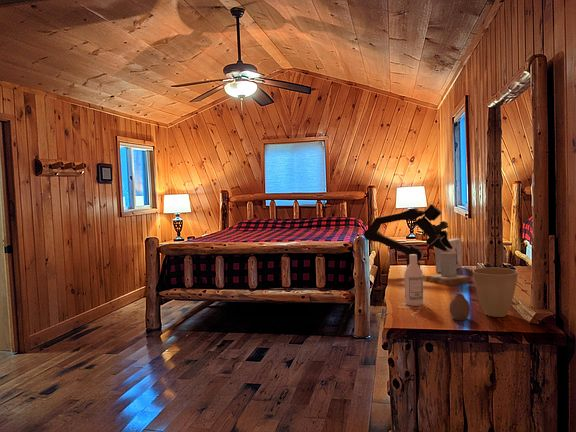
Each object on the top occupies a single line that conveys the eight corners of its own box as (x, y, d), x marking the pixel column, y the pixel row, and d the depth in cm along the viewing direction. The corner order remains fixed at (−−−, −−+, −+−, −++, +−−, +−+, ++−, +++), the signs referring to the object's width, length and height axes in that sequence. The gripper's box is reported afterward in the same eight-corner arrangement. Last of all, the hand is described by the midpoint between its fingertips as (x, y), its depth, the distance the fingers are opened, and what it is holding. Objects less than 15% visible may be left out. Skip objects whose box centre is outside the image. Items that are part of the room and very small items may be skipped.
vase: (446, 316, 172) (446, 292, 171) (464, 315, 172) (464, 291, 172) (454, 322, 165) (454, 297, 164) (473, 321, 165) (473, 296, 165)
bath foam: (427, 304, 188) (426, 254, 187) (413, 307, 185) (412, 256, 184) (415, 301, 195) (414, 252, 193) (401, 303, 192) (400, 254, 190)
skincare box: (445, 273, 246) (442, 242, 245) (435, 272, 249) (433, 242, 249) (463, 266, 260) (461, 237, 260) (454, 266, 264) (452, 238, 264)
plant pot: (519, 311, 175) (519, 268, 173) (516, 322, 162) (515, 276, 161) (476, 307, 182) (476, 266, 181) (469, 317, 169) (469, 273, 168)
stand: (427, 281, 230) (427, 275, 230) (447, 277, 237) (447, 271, 237) (450, 286, 218) (450, 280, 218) (470, 281, 225) (470, 276, 225)
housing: (440, 275, 228) (440, 251, 227) (448, 274, 231) (447, 250, 230) (449, 277, 224) (448, 252, 223) (456, 276, 227) (456, 251, 226)
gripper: (432, 217, 231) (455, 241, 225) (443, 214, 246) (466, 236, 241) (416, 233, 236) (439, 256, 230) (428, 229, 251) (450, 251, 246)
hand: (449, 249), depth 237 cm, fingers open, 8 cm apart
